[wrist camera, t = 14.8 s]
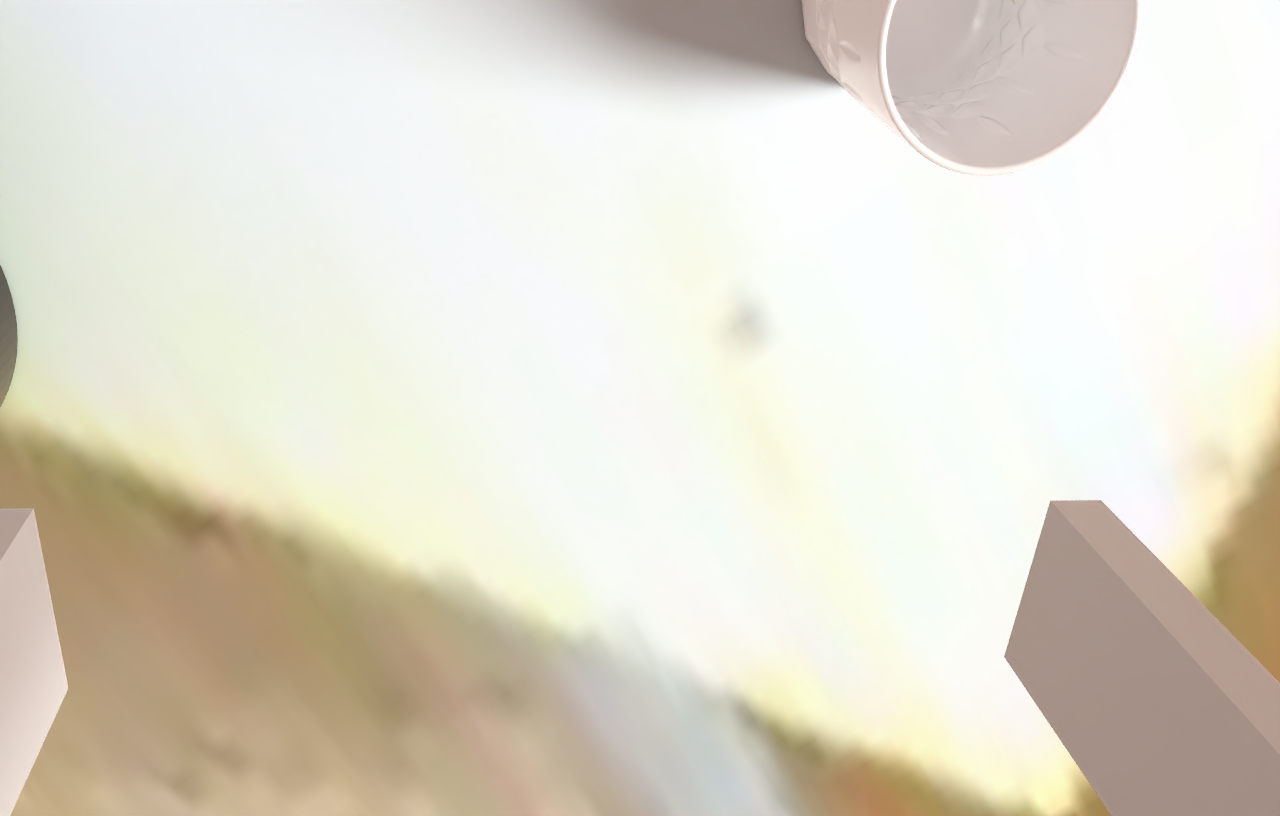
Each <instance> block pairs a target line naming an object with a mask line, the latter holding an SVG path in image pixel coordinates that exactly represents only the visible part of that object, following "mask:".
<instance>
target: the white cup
mask: <svg viewBox="0 0 1280 816" xmlns="http://www.w3.org/2000/svg"><path fill="white" fill-rule="evenodd" d="M1142 6H1143V2H1142V0H802V8H803V17H804V26H805V36H806V39H807V41H808V42H809V44H810V45H811V47H812V49H813V50H814V52H815V53H816V55H817V57H818V58H819V60H820V61H821V63H822V65H823V66H824V68H825V70H826V71H827V72H828V73H829V74H830V75H832V76H833V77H834V78H835V79H837V80H838V81H839V83H840V84H841V85H842V86H843V87H844V88H845V89H846V90H847V91H848V93H849V94H850V95H851V96H853V97H854V98H855V99H856V100H857V101H859V103H860V104H861V105H862V106H864V107H865V108H866V109H867V110H868V111H869V112H870V113H871V114H872V115H874V116H875V117H876V118H877V119H878V120H880V121H881V122H882V123H883V124H885V125H886V126H887V127H888V128H890V129H891V130H892V131H893V132H895V133H896V134H897V135H898V136H899V137H901V138H902V139H903V140H904V141H906V142H907V143H908V144H909V145H910V146H911V147H913V148H914V149H915V150H916V151H917V152H919V153H920V154H921V155H923V156H924V157H925V158H927V159H928V160H930V161H932V162H933V163H935V164H937V165H939V166H941V167H944V168H946V169H949V170H952V171H955V172H959V173H964V174H970V175H981V176H991V175H1002V174H1008V173H1013V172H1017V171H1021V170H1024V169H1027V168H1030V167H1033V166H1035V165H1037V164H1040V163H1042V162H1044V161H1046V160H1048V159H1050V158H1052V157H1053V156H1055V155H1057V154H1059V153H1060V152H1062V151H1063V150H1065V149H1066V148H1067V147H1069V146H1070V145H1072V144H1073V143H1074V142H1075V141H1077V140H1078V139H1079V138H1080V137H1081V136H1082V135H1083V134H1085V133H1086V132H1087V131H1088V130H1089V129H1090V128H1091V127H1092V126H1093V125H1094V123H1095V122H1096V121H1097V120H1098V119H1099V118H1100V117H1101V115H1102V114H1103V113H1104V112H1105V110H1106V109H1107V108H1108V106H1109V105H1110V103H1111V102H1112V100H1113V99H1114V97H1115V96H1116V94H1117V92H1118V91H1119V89H1120V87H1121V85H1122V83H1123V81H1124V79H1125V77H1126V75H1127V73H1128V71H1129V68H1130V66H1131V63H1132V60H1133V58H1134V55H1135V51H1136V48H1137V44H1138V40H1139V35H1140V29H1141V22H1142Z"/></svg>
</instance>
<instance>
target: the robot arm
mask: <svg viewBox="0 0 1280 816" xmlns="http://www.w3.org/2000/svg"><path fill="white" fill-rule="evenodd" d="M16 356H17V323H16V316H15V309H14V305H13V300H12V296H11V293H10V290H9V286H8V283H7V280H6V278H5V275H4V273H3V270H2V268H1V266H0V406H1V405H2V403H3V401H4V399H5V396H6V394H7V392H8V389H9V386H10V383H11V380H12V377H13V373H14V369H15V363H16ZM1004 657H1005V658H1006V660H1007V661H1008V663H1009V664H1010V666H1011V667H1012V669H1013V670H1014V672H1015V673H1016V675H1017V676H1018V678H1019V679H1020V681H1021V682H1022V684H1023V685H1024V687H1025V688H1026V690H1027V691H1028V693H1029V694H1030V696H1031V697H1032V699H1033V700H1034V702H1035V703H1036V704H1037V706H1038V707H1039V709H1040V710H1041V712H1042V713H1043V715H1044V716H1045V718H1046V719H1047V721H1048V722H1049V724H1050V725H1051V727H1052V728H1053V730H1054V731H1055V733H1056V734H1057V736H1058V737H1059V739H1060V740H1061V742H1062V743H1063V745H1064V746H1065V748H1066V749H1067V750H1068V752H1069V753H1070V755H1071V756H1072V758H1073V759H1074V761H1075V762H1076V764H1077V765H1078V767H1079V768H1080V770H1081V771H1082V773H1083V774H1084V776H1085V777H1086V779H1087V780H1088V782H1089V783H1090V785H1091V786H1092V788H1093V789H1094V791H1095V792H1096V794H1097V795H1098V796H1099V798H1100V799H1101V801H1102V802H1103V804H1104V805H1105V807H1106V808H1107V810H1108V811H1109V813H1110V814H1111V816H1280V683H1279V682H1278V681H1277V680H1276V679H1275V678H1274V677H1273V676H1272V675H1271V674H1270V673H1269V672H1268V671H1267V669H1266V668H1265V667H1264V666H1263V665H1262V664H1261V663H1260V662H1259V661H1258V660H1257V659H1256V658H1255V657H1254V656H1253V655H1252V654H1251V653H1250V652H1249V651H1248V650H1247V649H1246V648H1245V647H1244V646H1243V645H1242V644H1241V643H1240V642H1239V641H1238V640H1237V639H1236V638H1235V637H1234V636H1233V635H1232V634H1231V633H1230V632H1229V631H1228V630H1227V629H1226V628H1225V627H1224V626H1223V625H1222V624H1221V623H1220V622H1219V621H1218V620H1217V619H1216V617H1215V616H1214V615H1213V614H1212V613H1211V612H1210V611H1209V610H1208V609H1207V608H1206V607H1205V606H1204V605H1203V604H1202V603H1201V602H1200V601H1199V600H1198V599H1197V598H1196V597H1195V596H1194V595H1193V594H1192V593H1191V592H1190V591H1189V590H1188V589H1187V588H1186V587H1185V586H1184V585H1183V584H1182V583H1181V582H1180V581H1179V580H1178V579H1177V578H1176V577H1175V576H1174V575H1173V574H1172V573H1171V572H1170V571H1169V570H1168V569H1167V568H1166V566H1165V565H1164V564H1163V563H1162V562H1161V561H1160V560H1159V559H1158V558H1157V557H1156V556H1155V555H1154V554H1153V553H1152V552H1151V551H1150V550H1149V549H1148V548H1147V547H1146V546H1145V545H1144V544H1143V543H1142V542H1141V541H1140V540H1139V539H1138V538H1137V537H1136V536H1135V535H1134V534H1133V533H1132V532H1131V531H1130V530H1129V529H1128V528H1127V527H1126V526H1125V525H1124V524H1123V523H1122V522H1121V521H1120V520H1119V519H1118V518H1117V517H1116V515H1115V514H1114V513H1113V512H1112V511H1111V510H1110V509H1109V508H1108V507H1107V506H1106V505H1105V504H1104V503H1103V502H1102V501H1101V500H1088V501H1050V504H1049V508H1048V511H1047V514H1046V518H1045V521H1044V525H1043V528H1042V531H1041V535H1040V538H1039V541H1038V545H1037V548H1036V551H1035V555H1034V558H1033V562H1032V565H1031V568H1030V572H1029V575H1028V578H1027V582H1026V585H1025V589H1024V592H1023V595H1022V599H1021V602H1020V605H1019V609H1018V612H1017V616H1016V619H1015V622H1014V626H1013V629H1012V632H1011V636H1010V639H1009V643H1008V646H1007V649H1006V653H1005V656H1004ZM67 690H68V684H67V679H66V674H65V668H64V663H63V658H62V653H61V648H60V643H59V637H58V632H57V627H56V622H55V617H54V611H53V606H52V601H51V596H50V591H49V586H48V580H47V575H46V570H45V565H44V560H43V554H42V549H41V544H40V539H39V534H38V529H37V523H36V518H35V513H34V508H2V509H0V816H10V815H11V812H12V810H13V808H14V806H15V804H16V801H17V799H18V797H19V795H20V793H21V791H22V788H23V786H24V784H25V782H26V780H27V777H28V775H29V773H30V771H31V769H32V766H33V764H34V762H35V760H36V758H37V756H38V753H39V751H40V749H41V747H42V745H43V742H44V740H45V738H46V736H47V734H48V731H49V729H50V727H51V725H52V723H53V721H54V718H55V716H56V714H57V712H58V710H59V707H60V705H61V703H62V701H63V699H64V696H65V694H66V692H67Z"/></svg>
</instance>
